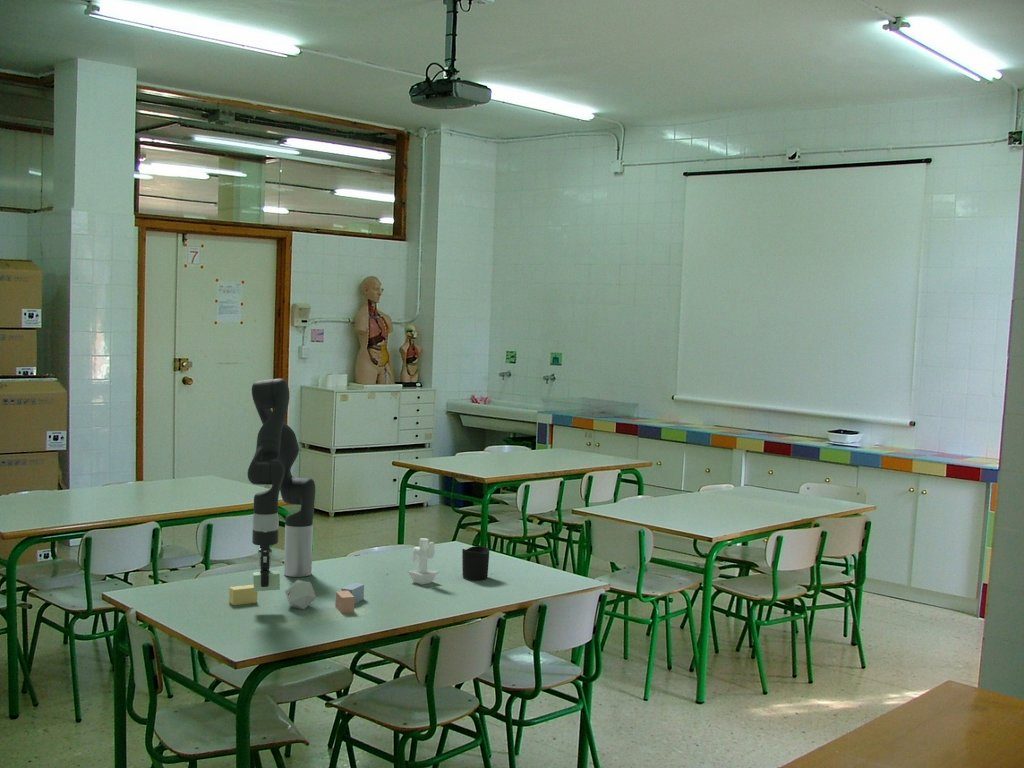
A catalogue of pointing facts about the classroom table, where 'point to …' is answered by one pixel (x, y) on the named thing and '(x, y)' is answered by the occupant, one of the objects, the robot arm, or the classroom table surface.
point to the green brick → (273, 581)
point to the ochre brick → (242, 595)
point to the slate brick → (355, 591)
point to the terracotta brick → (344, 601)
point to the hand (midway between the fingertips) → (264, 584)
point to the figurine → (423, 562)
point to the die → (300, 594)
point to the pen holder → (475, 563)
